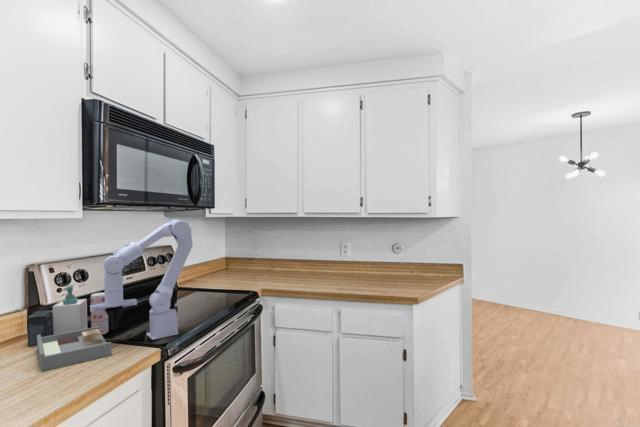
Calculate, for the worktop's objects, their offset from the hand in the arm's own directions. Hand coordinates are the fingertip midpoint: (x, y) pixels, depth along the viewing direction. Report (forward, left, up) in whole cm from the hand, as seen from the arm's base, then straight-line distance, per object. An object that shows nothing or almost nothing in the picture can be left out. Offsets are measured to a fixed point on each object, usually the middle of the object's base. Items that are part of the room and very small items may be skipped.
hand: (114, 328), depth 134 cm
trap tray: (+12, 0, -5) cm, 13 cm away
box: (+20, -19, -6) cm, 28 cm away
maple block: (+7, 0, -3) cm, 8 cm away
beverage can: (+2, -16, -6) cm, 17 cm away
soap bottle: (+11, -19, -6) cm, 23 cm away
